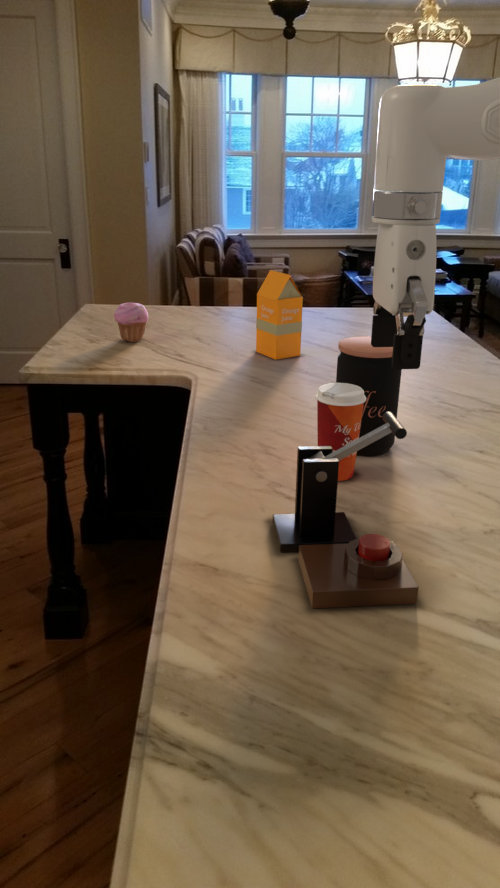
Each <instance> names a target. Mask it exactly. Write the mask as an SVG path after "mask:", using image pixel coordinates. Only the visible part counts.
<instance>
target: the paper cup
mask: <svg viewBox="0 0 500 888" xmlns="http://www.w3.org/2000/svg"><path fill="white" fill-rule="evenodd" d="M317 389H318V390H317V393H316V394H315V395H314V398H315V399H316V404H317V405H316V406H317V407H316V410H317V411H316V412H317V416H316V417H317V421H316V422H317V426H316V427H317V429H316V430H317V446H331V447H332V449H333V450H332V453H333V452H335V451H336V450H338V449H340V448H342V447H344V446H346V445H347V444H349V443H351V442H353V441H355V440H357V439H358V438H359V433H360V426H361V419H362V412H363V405H364V402H365V401H366V396H365V395H364V390H363V389H362V388H361V387H359V386H357V385H353V384H348V383H336V382H328V383H324V384H322V385H320V386H319V387H318V388H317ZM356 454H357V451H356V452H354V453H353V454H351V455H349V456H347V457H345V458H343V459H341V460H340V461H339V471H338V482H341V481H342V482H343V481H347V480H349V479H352V478H353V476H354V474H355V473H354V472H355V467H356V460H357V455H356Z"/></svg>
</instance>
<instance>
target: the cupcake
mask: <svg viewBox="0 0 500 888" xmlns="http://www.w3.org/2000/svg"><path fill="white" fill-rule="evenodd" d="M113 318H114V321H115V322H116V323H117V325H118V331H119V336H120V338H121V339H122V340H123V341H127V342H129V343H134V342H138V341H141V340H142V338H143V337H144V335H145V332H146V325H147V323H148V321H149V313H148V310H147V309H146V307H145V305H143V304H141V303H140V302H139V303H138V302H129V301H128V302H124V303H120V304H119V305H118V306H117V308H116V309H115V310H114V312H113Z"/></svg>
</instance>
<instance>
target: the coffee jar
mask: <svg viewBox="0 0 500 888" xmlns="http://www.w3.org/2000/svg"><path fill="white" fill-rule="evenodd" d="M338 350H339V354H338V355H337V359H336V360H337V361H336V377H335V383H348V384H353V385H357V386H359V387H361V388H362V389H363V390H364V395H365V396H366V401H365V402H364V405H363V412H362V419H361V426H360V433H359V438H360V437H362V436H364V435H366V434H368V433H369V432H371V431H373V430H375V429H377V428H379V427H381V426H382V425H384V424H386V423H385V422H384V420H383V414H384V413H385V412H392V413H393V415H394V416H395V417H396V418H397V419H398V411H399V399H400V390H401V381H402V380H401V379H402V371H403V369H394V368H393V367H392V354H393V347H373V346H372V345H371V336H368V335H367V336H352V337H351V336H350V337H346V338H342V339H340V340H339V341H338ZM395 439H396V436H395V435H394V434H393V432H391V433H390V434H388V435H386V436H384V437H382V438H380V439H378V440H377V441H375V442H373V443H371V444H369V445H367V446H366V447H364V448H362V449H360V450H358V451H357V454H356V456H363V457H374V456H380V455H383V454H385V453H387V452H389V450H390V449H391V448H392V446H393V445H394V444H395Z"/></svg>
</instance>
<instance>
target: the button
mask: <svg viewBox="0 0 500 888" xmlns="http://www.w3.org/2000/svg"><path fill="white" fill-rule="evenodd" d="M359 538H360V539H359V547H358V554H359V556H360V557H362V558H364V559H367V560H371V561H384V560H387V559H388V557H389V552H390V542H391V541H390V540H389V538H388V537H386V536H384V535H381V534H377V533H366V534H364V535H361V536H360V537H359Z"/></svg>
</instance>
